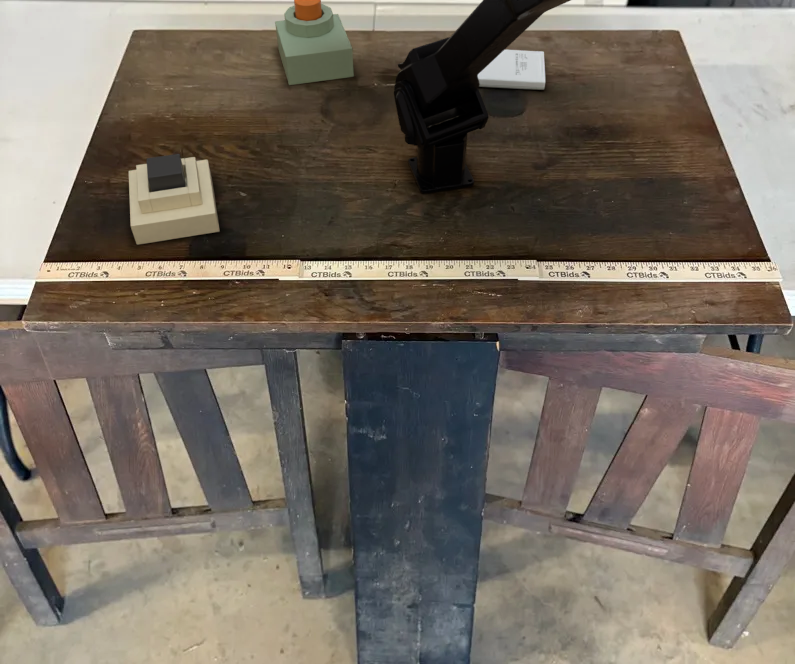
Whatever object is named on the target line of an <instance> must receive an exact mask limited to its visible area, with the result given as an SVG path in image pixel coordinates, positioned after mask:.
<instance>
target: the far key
mask: <svg viewBox="0 0 795 664" xmlns="http://www.w3.org/2000/svg"><path fill="white" fill-rule="evenodd" d="M293 3H294V5H295V15H296V18H297V19H299V20H303V21H312V20H317V19H319V18H321V17H322V9H321V4H322V0H293ZM294 5H293V6H294Z"/></svg>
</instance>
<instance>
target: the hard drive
mask: <svg viewBox="0 0 795 664" xmlns="http://www.w3.org/2000/svg"><path fill="white" fill-rule="evenodd" d="M545 63H546V62H545V52H544V51H542V50H541V51H539V50H524V49H523V50H522V49H521V50H520V49H505V50H504V51H503V52H501V53H500V54H499V55H498V56H497V57H496V58H495V59H494V60H493V61H492V62H491V63H490V64H489V65H488V66H487V67H485V68H484V69H483V70H482V71H481V72H480V73H479V74H478V79H479V83H480V85H479V88H480V87H482V88H499V89H515V90H516V89H518V90H537V91H538V90H539V91H540V90H541V91H545V88H546V66H545V65H546V64H545Z"/></svg>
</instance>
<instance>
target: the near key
mask: <svg viewBox="0 0 795 664" xmlns="http://www.w3.org/2000/svg"><path fill="white" fill-rule="evenodd" d="M181 159H182V157H181V154H180V153H174V154H168V155H161V156H153V157H147V158H146V164H147V175H148V181H149V184H150V188H151V191H152V192H155V191H162V190H169V189H175V188H182V187H185V178H184V169H183V165H182V161H181Z"/></svg>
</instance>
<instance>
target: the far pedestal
mask: <svg viewBox="0 0 795 664" xmlns="http://www.w3.org/2000/svg"><path fill="white" fill-rule="evenodd" d="M321 9H322V17H321V18H319V19H317V20H312V21H303V20H299V19H297V18H296V15H295V5H292V6H290V7H288V8H287V9H286V10H285V12H284V14H283V15H284V20H283V19H282V20H276V21H274V24H275V33H276V42H277V49H278V53H279V56H280V60H281V63H282V66H283V70H284V73H285V76H286V80H287V83H288V86H293V85H294V86H295V85H300V84H301V85H302V84H309V83H316V82H323V81H324V82H325V81H332V80H340V79H346V78H347V79H348V78H353V77H355V75H354V74H355V73H354V53H353V51H354V50H353V46H352V43H351V41H350V39H349V36H348V35H347V32H346V29H345V27H344V25H343V22H342V20H341V18H340V15H339V13H333V10H332V8H331V7H330V6H328V5H326V4H324V3H321Z"/></svg>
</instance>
